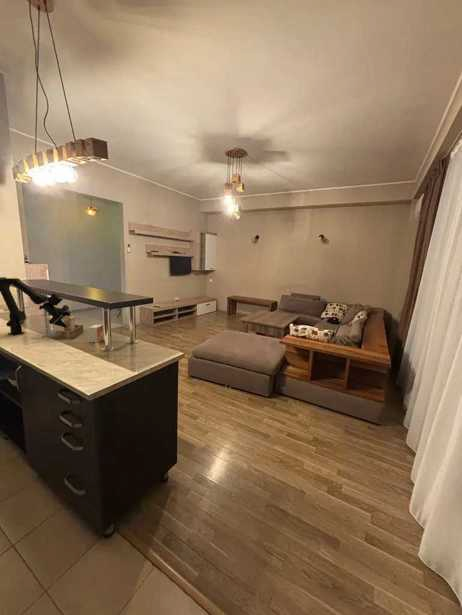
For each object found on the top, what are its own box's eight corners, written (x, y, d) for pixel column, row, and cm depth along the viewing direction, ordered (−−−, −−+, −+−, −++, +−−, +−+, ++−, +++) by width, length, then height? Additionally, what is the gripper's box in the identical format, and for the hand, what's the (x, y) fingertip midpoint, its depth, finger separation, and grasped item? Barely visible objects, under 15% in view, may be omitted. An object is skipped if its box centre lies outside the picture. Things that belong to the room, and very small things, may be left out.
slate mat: (41, 336, 167) (41, 336, 166) (51, 331, 178) (51, 331, 178) (59, 337, 168) (59, 336, 168) (68, 332, 180) (68, 331, 180)
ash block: (64, 335, 172) (63, 317, 169) (68, 333, 177) (67, 316, 174) (72, 335, 173) (71, 318, 170) (75, 333, 178) (74, 316, 175)
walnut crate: (55, 338, 166) (55, 331, 165) (68, 331, 182) (68, 324, 181) (72, 338, 167) (71, 331, 166) (83, 331, 184) (83, 324, 183)
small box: (97, 343, 163) (96, 327, 161) (88, 342, 163) (88, 327, 161) (103, 339, 171) (103, 324, 169) (95, 338, 171) (95, 324, 169)
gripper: (52, 304, 160) (71, 321, 164) (67, 299, 178) (84, 315, 182) (40, 315, 161) (59, 332, 164) (55, 309, 179) (73, 324, 183)
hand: (70, 325), depth 173 cm, fingers open, 9 cm apart
